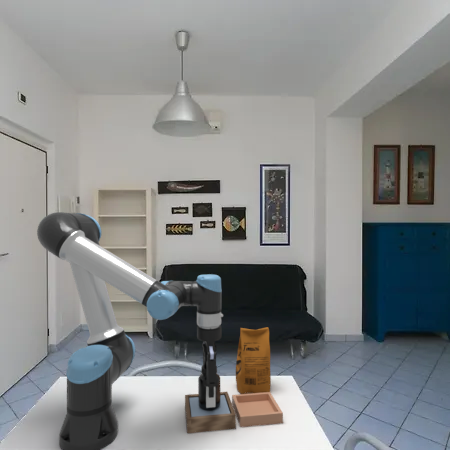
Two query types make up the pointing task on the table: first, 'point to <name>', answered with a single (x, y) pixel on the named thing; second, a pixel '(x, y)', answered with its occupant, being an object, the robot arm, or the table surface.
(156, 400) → the table surface
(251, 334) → the coffee package
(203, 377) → the supplement bottle
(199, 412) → the pad
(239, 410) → the tray
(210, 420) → the wooden frame
